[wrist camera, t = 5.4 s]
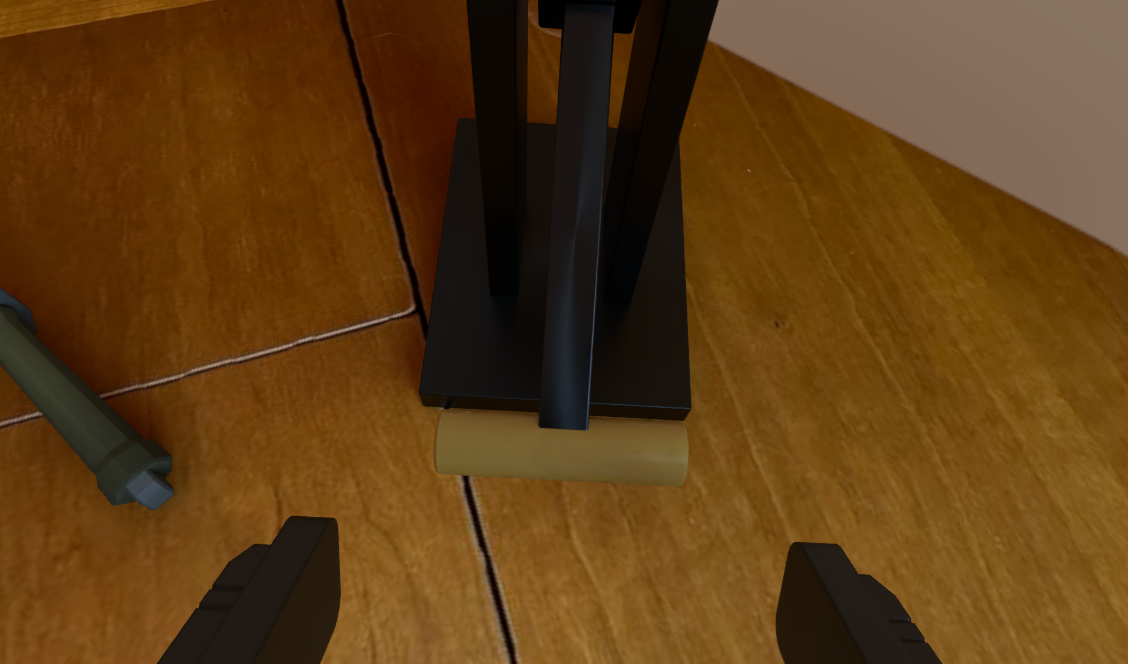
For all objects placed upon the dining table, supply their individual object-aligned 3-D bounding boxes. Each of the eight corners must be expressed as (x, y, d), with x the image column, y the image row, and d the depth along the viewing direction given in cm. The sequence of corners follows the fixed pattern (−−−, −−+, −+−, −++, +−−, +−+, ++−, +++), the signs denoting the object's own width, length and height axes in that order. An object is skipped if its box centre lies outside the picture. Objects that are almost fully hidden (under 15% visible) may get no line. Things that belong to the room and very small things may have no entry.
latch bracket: (684, 421, 24) (881, 105, 11) (422, 406, 24) (301, 63, 11) (673, 152, 30) (796, -277, 16) (460, 137, 29) (410, -312, 16)
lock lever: (670, 472, 17) (691, 501, 15) (444, 459, 17) (427, 487, 14) (710, -82, 16) (738, -146, 14) (474, -101, 16) (461, -169, 14)
